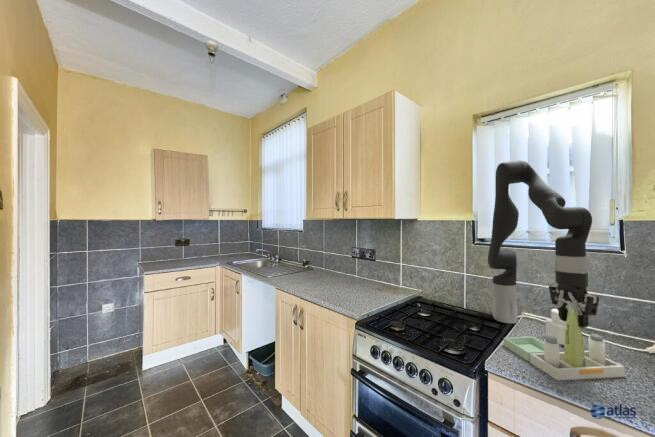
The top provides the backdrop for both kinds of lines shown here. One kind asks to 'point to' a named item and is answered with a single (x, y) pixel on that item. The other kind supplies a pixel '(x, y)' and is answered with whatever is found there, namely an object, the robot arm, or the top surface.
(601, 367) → the holder
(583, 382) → the top surface
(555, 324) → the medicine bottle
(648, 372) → the top surface
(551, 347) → the bottle
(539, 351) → the tray
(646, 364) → the top surface
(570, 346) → the tube
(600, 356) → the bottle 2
